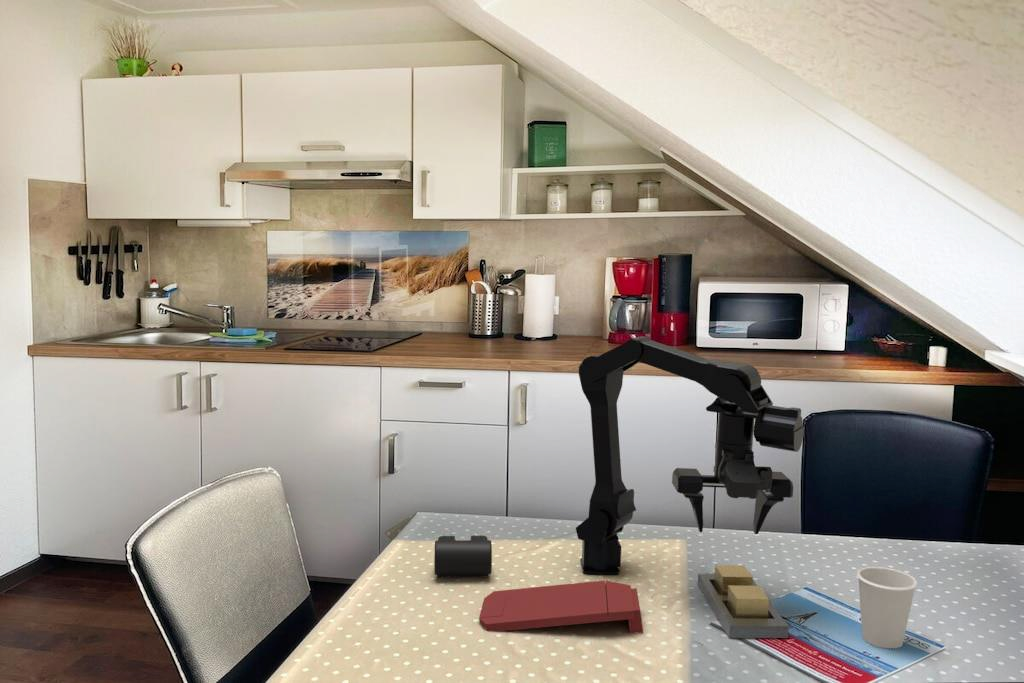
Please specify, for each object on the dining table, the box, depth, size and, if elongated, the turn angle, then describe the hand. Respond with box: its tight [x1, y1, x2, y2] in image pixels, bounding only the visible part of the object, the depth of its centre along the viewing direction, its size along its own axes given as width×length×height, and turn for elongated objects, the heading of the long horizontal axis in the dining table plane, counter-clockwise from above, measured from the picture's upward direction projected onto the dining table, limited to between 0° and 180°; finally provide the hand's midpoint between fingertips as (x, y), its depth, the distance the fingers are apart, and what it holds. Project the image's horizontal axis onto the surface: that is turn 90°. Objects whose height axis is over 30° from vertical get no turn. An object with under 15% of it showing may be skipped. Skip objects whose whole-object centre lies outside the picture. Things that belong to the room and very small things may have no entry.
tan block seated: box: [714, 564, 754, 595], centre depth 139 cm, size 5×5×5 cm
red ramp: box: [478, 579, 644, 634], centre depth 132 cm, size 12×5×25 cm
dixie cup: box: [856, 566, 918, 650], centre depth 125 cm, size 8×8×10 cm
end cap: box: [433, 534, 493, 578], centre depth 147 cm, size 10×7×7 cm
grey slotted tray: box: [697, 573, 789, 640], centre depth 135 cm, size 9×20×2 cm, turn 1°
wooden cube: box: [727, 585, 770, 619], centre depth 131 cm, size 5×5×5 cm
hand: (728, 532), depth 137 cm, fingers open, 9 cm apart
